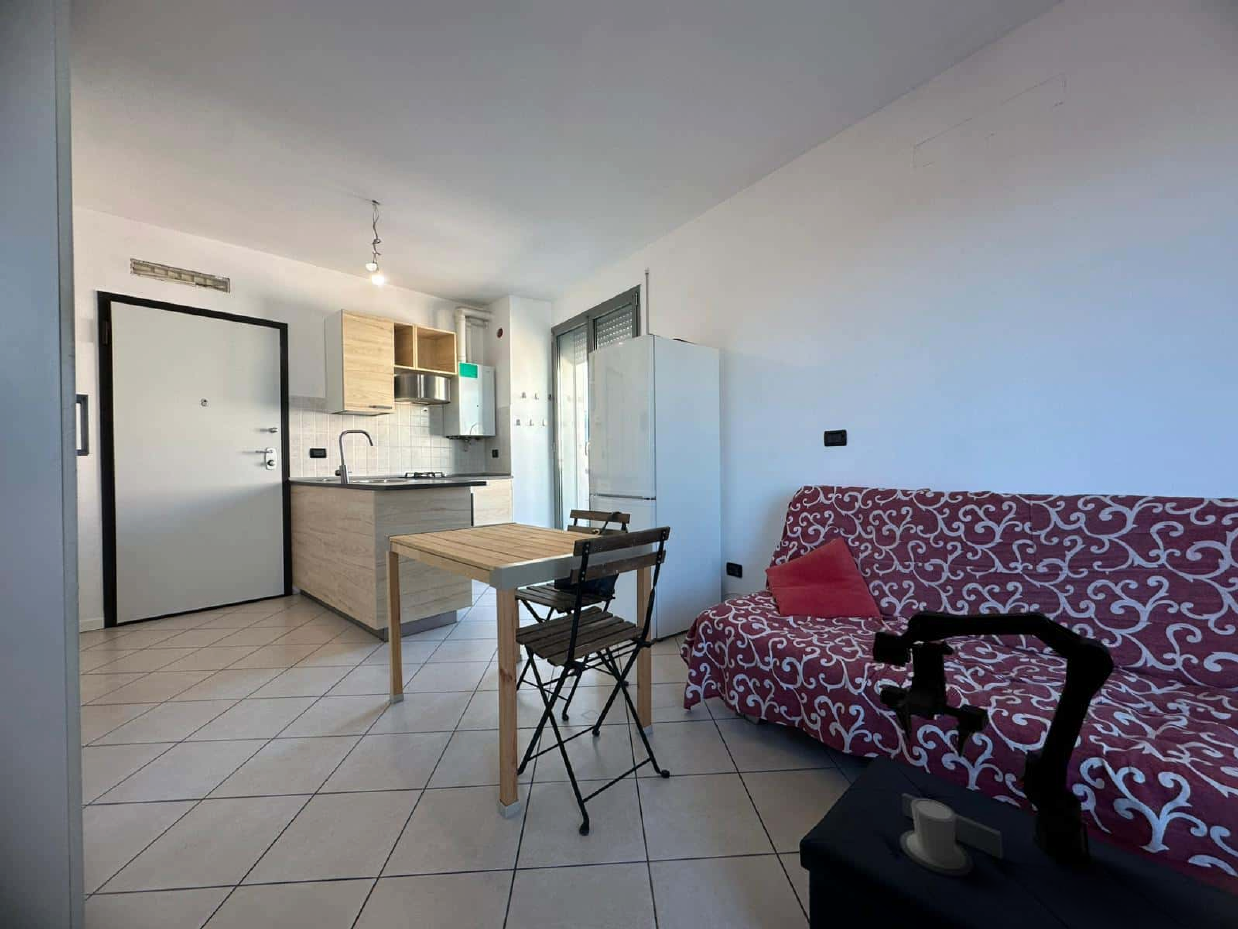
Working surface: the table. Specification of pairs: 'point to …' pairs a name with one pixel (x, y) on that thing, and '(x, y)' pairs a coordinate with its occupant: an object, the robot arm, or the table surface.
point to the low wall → (967, 831)
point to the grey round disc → (955, 867)
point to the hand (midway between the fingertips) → (934, 748)
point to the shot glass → (934, 828)
